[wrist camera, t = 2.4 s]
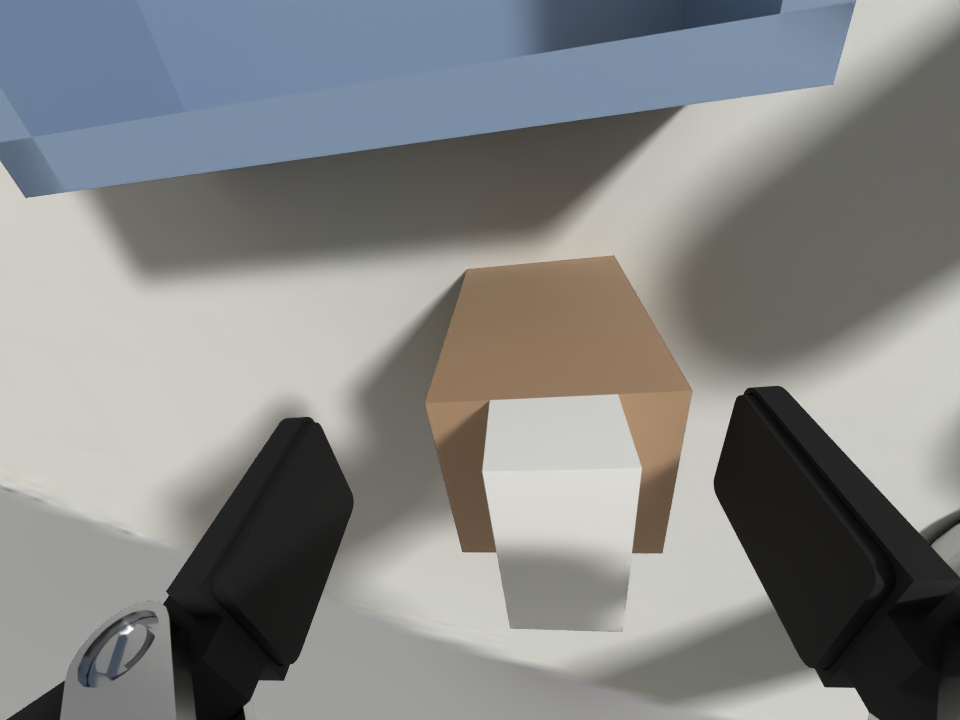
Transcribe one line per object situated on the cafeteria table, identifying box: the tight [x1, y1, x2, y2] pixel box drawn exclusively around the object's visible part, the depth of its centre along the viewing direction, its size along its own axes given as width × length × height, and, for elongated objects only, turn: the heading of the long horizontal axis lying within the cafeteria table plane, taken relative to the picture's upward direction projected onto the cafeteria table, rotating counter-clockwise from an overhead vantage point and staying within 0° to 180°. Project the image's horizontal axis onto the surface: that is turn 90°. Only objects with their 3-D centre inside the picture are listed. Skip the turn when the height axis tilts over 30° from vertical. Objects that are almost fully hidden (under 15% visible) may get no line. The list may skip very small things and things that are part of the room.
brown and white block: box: [425, 256, 692, 632], centre depth 11 cm, size 5×5×9 cm
